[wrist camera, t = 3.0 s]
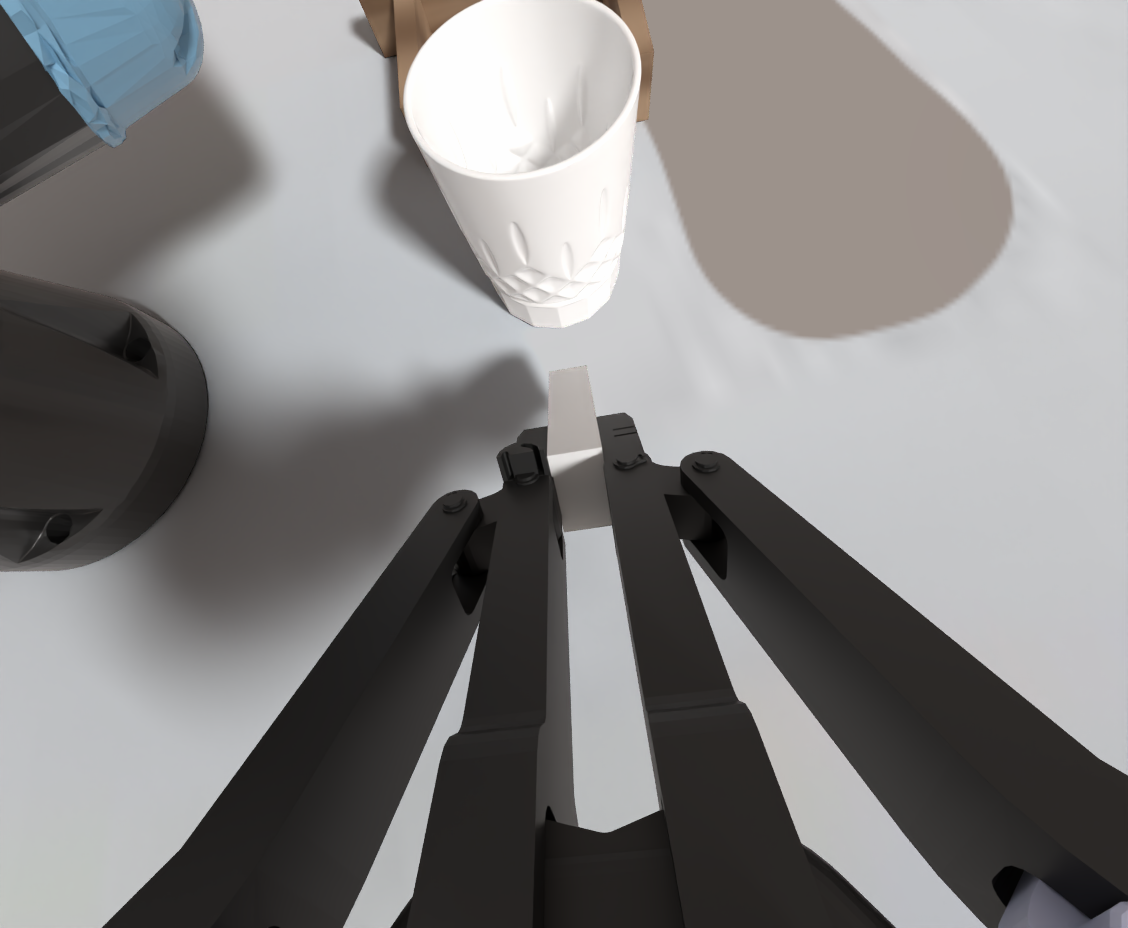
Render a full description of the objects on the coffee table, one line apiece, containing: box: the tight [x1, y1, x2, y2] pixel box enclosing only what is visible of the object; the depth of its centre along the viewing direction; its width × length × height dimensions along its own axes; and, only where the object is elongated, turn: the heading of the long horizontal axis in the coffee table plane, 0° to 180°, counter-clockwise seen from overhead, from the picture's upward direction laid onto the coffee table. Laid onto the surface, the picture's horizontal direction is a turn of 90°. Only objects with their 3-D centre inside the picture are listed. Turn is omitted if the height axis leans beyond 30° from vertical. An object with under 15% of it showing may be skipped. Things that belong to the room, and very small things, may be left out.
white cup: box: [403, 0, 641, 328], centre depth 19 cm, size 8×8×10 cm
